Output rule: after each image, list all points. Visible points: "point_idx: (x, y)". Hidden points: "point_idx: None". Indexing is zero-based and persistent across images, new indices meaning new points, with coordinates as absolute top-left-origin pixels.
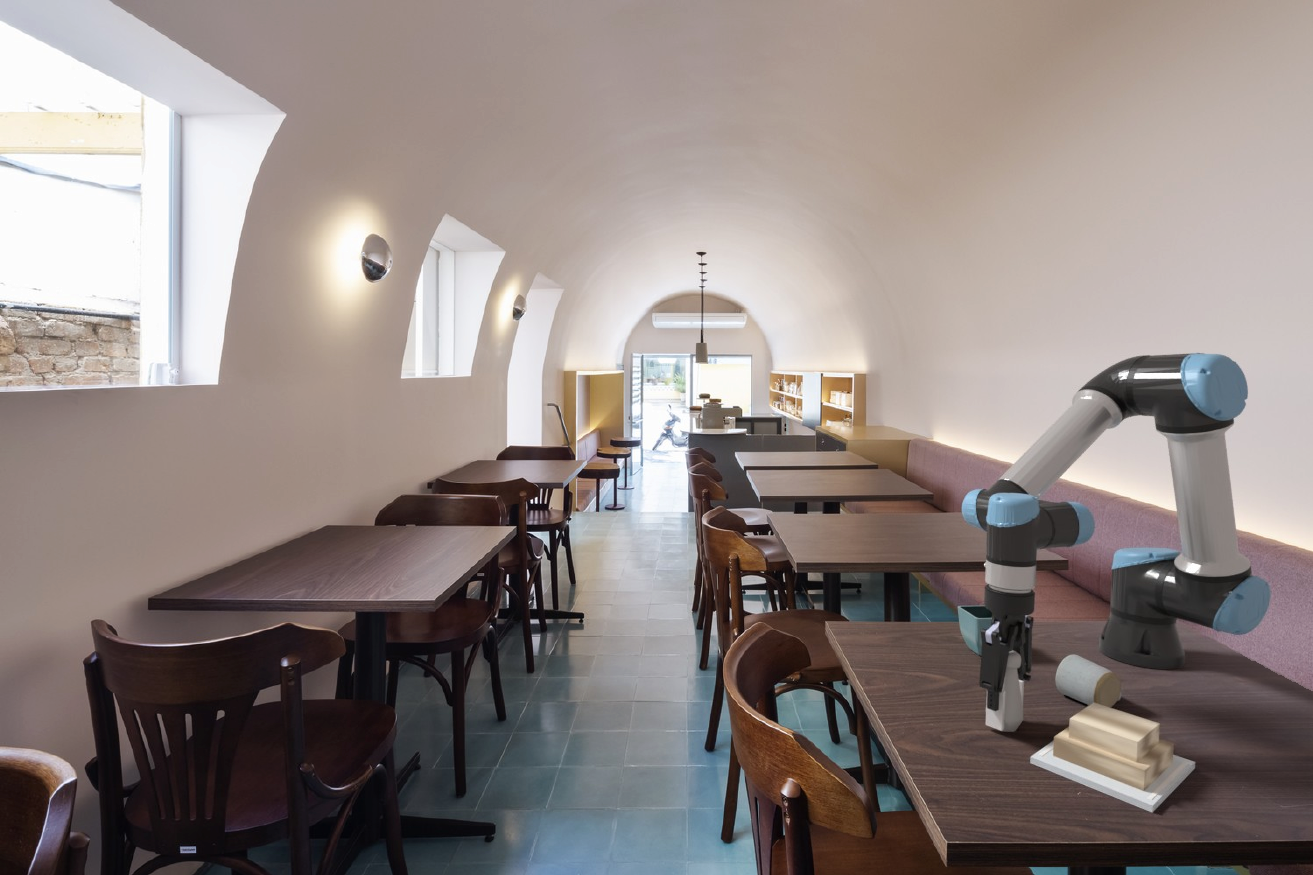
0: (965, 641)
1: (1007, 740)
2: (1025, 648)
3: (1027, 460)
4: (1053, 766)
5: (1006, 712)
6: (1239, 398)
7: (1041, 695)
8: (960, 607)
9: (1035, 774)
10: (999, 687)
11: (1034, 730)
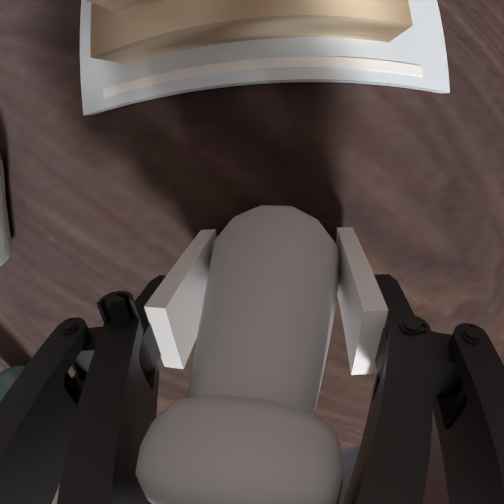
0: None
1: (362, 195)
2: (31, 432)
3: None
4: (441, 29)
5: (329, 252)
6: None
7: (44, 267)
8: None
9: (477, 68)
10: (429, 335)
11: (219, 175)
